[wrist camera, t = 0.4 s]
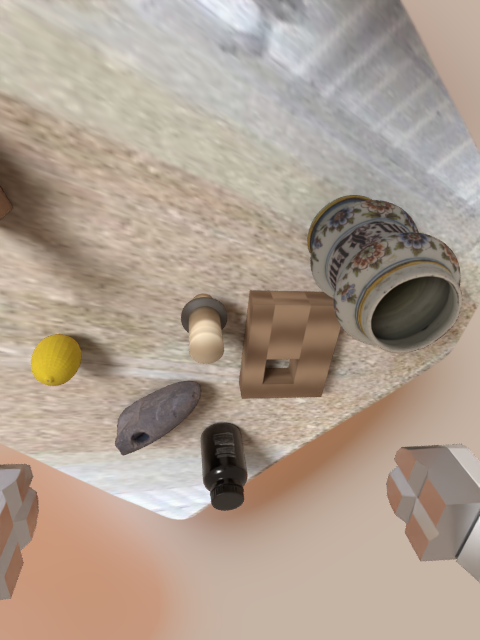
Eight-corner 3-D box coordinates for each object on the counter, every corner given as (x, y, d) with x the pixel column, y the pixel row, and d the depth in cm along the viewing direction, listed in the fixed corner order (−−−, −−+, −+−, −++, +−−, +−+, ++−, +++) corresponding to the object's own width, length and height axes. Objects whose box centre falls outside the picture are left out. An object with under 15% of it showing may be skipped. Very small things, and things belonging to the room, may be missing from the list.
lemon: (95, 343, 53) (83, 384, 47) (64, 362, 55) (47, 405, 48) (65, 315, 50) (47, 355, 44) (32, 335, 52) (10, 377, 45)
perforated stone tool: (190, 364, 58) (191, 398, 52) (210, 385, 60) (213, 420, 55) (108, 408, 61) (100, 445, 55) (130, 427, 63) (125, 464, 58)
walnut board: (249, 290, 52) (253, 304, 49) (337, 292, 53) (346, 306, 51) (239, 382, 60) (241, 398, 58) (314, 380, 62) (321, 396, 59)
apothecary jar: (278, 235, 48) (321, 318, 33) (361, 162, 44) (451, 219, 29) (334, 295, 54) (391, 388, 39) (411, 235, 50) (507, 312, 35)
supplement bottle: (192, 439, 67) (194, 507, 57) (216, 415, 64) (222, 482, 54) (224, 453, 70) (231, 519, 60) (249, 430, 67) (260, 495, 57)
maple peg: (181, 283, 50) (181, 329, 42) (225, 284, 51) (234, 329, 43) (181, 320, 53) (180, 370, 45) (222, 320, 54) (230, 369, 46)
